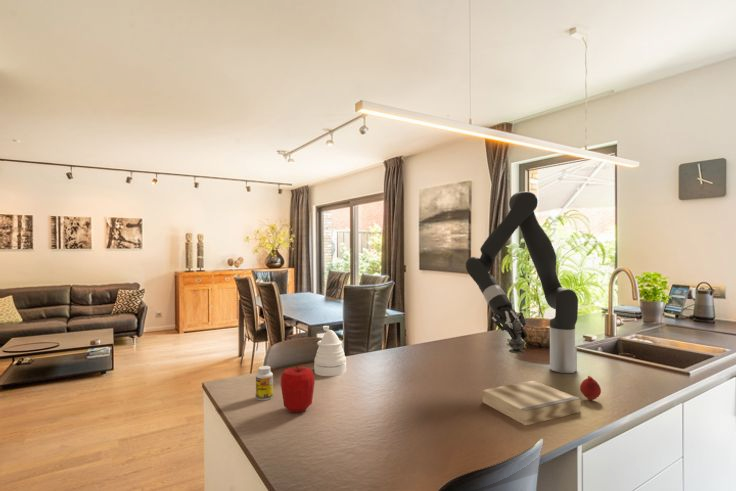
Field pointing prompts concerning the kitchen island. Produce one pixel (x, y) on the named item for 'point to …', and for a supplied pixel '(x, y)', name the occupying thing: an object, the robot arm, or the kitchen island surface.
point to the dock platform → (531, 402)
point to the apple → (297, 388)
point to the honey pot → (330, 355)
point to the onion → (590, 388)
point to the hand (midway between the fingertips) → (520, 338)
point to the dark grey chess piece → (518, 343)
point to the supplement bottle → (264, 383)
